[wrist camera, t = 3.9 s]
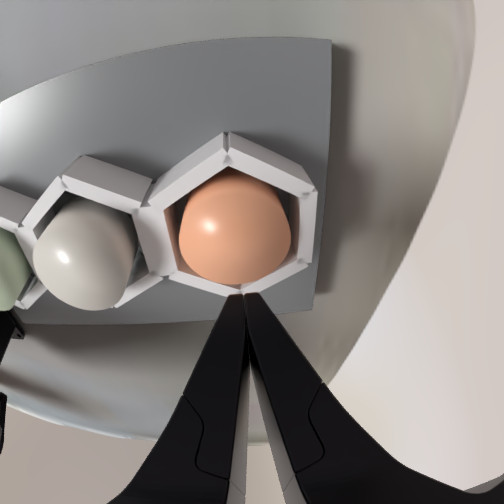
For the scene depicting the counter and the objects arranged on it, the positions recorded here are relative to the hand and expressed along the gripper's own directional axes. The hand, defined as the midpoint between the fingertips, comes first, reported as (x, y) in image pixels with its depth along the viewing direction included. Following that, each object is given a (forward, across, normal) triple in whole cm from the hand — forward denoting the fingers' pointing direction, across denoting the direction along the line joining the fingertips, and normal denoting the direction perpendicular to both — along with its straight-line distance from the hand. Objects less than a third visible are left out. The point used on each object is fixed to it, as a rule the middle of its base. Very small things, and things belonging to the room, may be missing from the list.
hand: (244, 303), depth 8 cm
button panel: (+7, +6, 0) cm, 9 cm away
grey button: (+4, +6, 0) cm, 7 cm away
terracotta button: (+5, 0, 0) cm, 5 cm away
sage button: (+4, +12, 0) cm, 13 cm away
